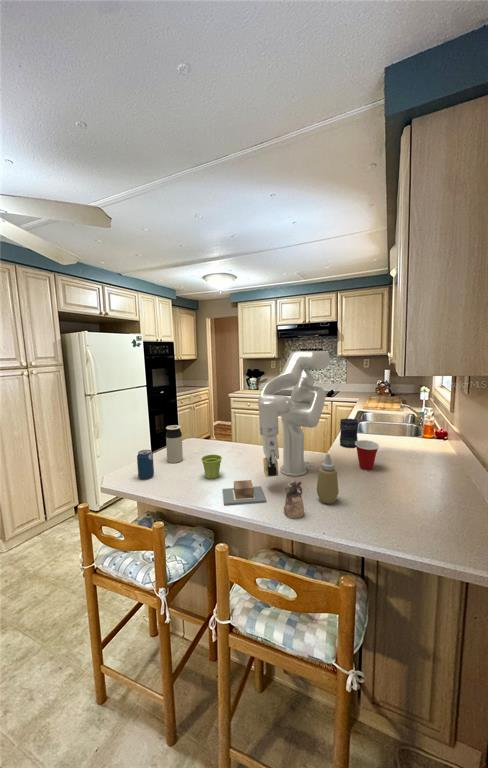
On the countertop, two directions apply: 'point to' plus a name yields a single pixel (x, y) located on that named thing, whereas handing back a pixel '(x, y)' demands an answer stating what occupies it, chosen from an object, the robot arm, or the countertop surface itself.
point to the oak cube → (268, 465)
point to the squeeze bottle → (327, 482)
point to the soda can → (145, 464)
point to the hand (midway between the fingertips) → (270, 471)
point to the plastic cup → (366, 453)
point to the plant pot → (211, 465)
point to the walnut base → (243, 489)
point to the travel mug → (174, 444)
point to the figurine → (293, 500)
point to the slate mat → (230, 498)
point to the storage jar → (348, 433)
